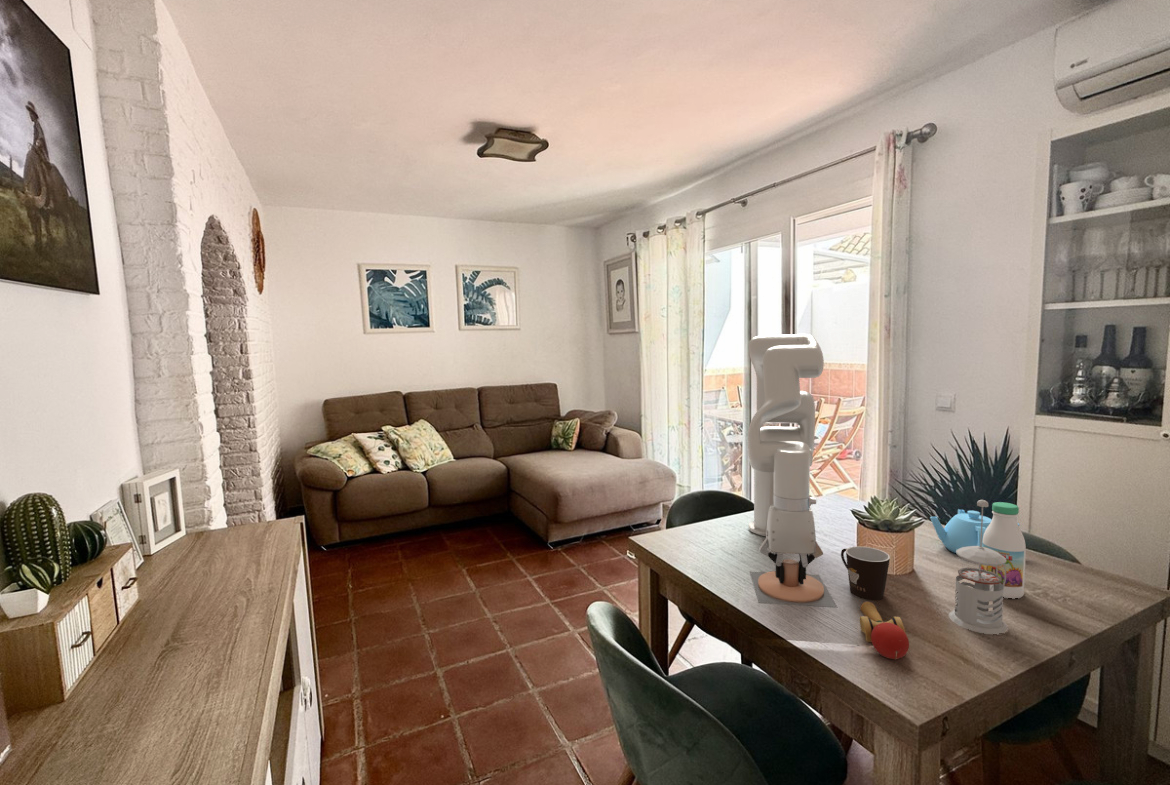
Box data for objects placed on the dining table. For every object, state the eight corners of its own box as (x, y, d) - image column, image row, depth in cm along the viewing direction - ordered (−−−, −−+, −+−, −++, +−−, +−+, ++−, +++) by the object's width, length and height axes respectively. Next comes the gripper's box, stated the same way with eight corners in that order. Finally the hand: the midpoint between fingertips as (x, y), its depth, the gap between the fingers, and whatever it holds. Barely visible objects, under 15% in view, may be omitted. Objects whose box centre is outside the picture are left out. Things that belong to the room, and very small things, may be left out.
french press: (936, 615, 111) (941, 496, 108) (974, 604, 115) (979, 489, 112) (987, 639, 101) (993, 510, 99) (1026, 626, 106) (1032, 502, 103)
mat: (749, 575, 131) (749, 571, 131) (818, 578, 129) (818, 574, 128) (758, 606, 116) (758, 602, 116) (837, 611, 113) (837, 607, 113)
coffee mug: (894, 608, 114) (896, 562, 113) (851, 605, 115) (852, 560, 115) (876, 584, 125) (877, 542, 124) (837, 581, 127) (837, 540, 126)
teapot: (924, 546, 147) (925, 508, 146) (958, 536, 153) (959, 500, 152) (985, 566, 133) (987, 524, 132) (1020, 555, 139) (1022, 515, 138)
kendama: (843, 620, 112) (867, 657, 95) (849, 590, 112) (873, 622, 95) (884, 630, 110) (915, 670, 93) (889, 600, 110) (922, 634, 93)
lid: (754, 573, 130) (754, 549, 130) (815, 576, 128) (815, 551, 127) (763, 600, 116) (763, 574, 116) (831, 604, 114) (832, 577, 113)
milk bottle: (983, 581, 125) (987, 497, 123) (1026, 591, 120) (1030, 504, 118) (976, 592, 120) (980, 505, 118) (1021, 603, 114) (1025, 512, 113)
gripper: (826, 498, 122) (824, 576, 124) (750, 496, 125) (750, 572, 127) (835, 508, 115) (833, 591, 117) (755, 506, 118) (754, 586, 120)
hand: (790, 580), depth 122 cm, fingers closed on lid, 3 cm apart
